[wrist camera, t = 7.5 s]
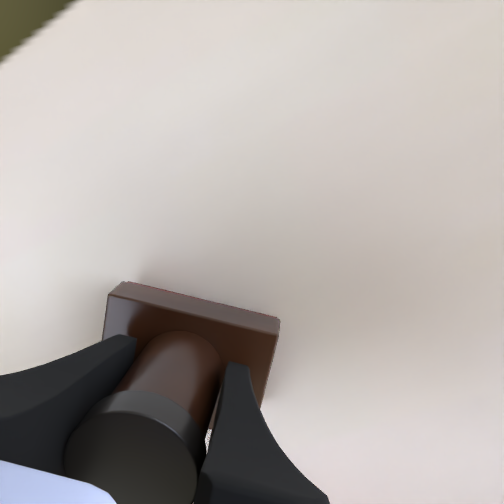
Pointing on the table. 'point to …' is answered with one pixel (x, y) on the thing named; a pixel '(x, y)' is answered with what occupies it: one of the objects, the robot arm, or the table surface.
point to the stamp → (165, 393)
